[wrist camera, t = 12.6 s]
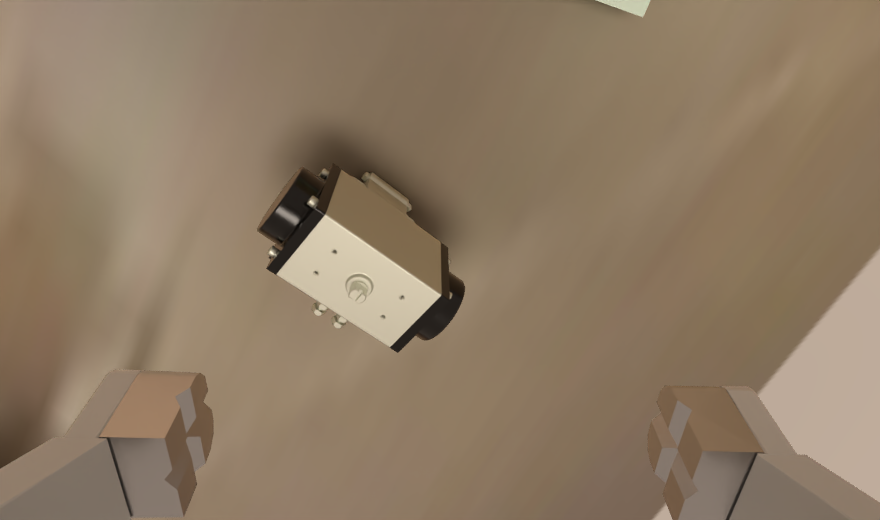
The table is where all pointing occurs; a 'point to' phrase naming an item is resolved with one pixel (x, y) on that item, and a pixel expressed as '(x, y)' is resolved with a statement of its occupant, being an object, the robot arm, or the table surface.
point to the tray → (629, 5)
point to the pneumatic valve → (361, 256)
